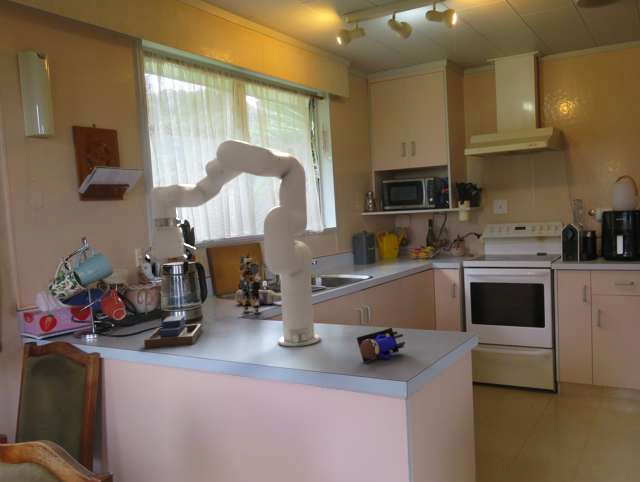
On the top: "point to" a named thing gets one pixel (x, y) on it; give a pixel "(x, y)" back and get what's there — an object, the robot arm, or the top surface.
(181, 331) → the navy stepped block
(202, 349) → the top surface
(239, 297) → the decorative bottle
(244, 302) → the toy
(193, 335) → the tray
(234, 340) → the top surface
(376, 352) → the character figurine
